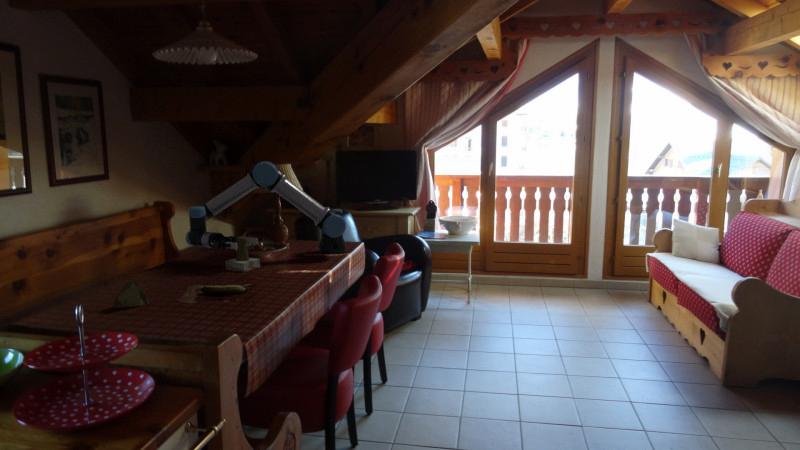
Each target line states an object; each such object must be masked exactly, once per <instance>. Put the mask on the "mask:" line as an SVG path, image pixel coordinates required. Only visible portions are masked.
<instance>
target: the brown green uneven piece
mask: <svg viewBox="0 0 800 450" xmlns="http://www.w3.org/2000/svg"><path fill="white" fill-rule="evenodd" d="M251 285H252V284H250V283H248V284H243V285H238V284H228V285H218V284H217V285H203V284H199V285H198V284H197V285H196V284H195V285H190V286H188V287H187V288H186V291H185V292H184V294H183V295H181V296H180V297H176V298H175V300H176V302H178V303H186V304H196V303H198V301H196V300H195V299H196V298H197V297H198V295H199V297H204V296H228V295H236V294H241V293H243V292H246V291H249V286H251ZM197 289H200V290H199V291H196V290H197ZM200 294H201V295H200ZM249 299H251V297H248V298H245V300H249ZM235 300H236V301H241V300H243V298H240V299H235ZM231 301H233V299H232V300H231ZM231 301H230V300H226V299H225V300H223V301H222V303H229V302H230V303H231ZM213 302H214V301H207V302H206V303H207V304H208V303H213ZM216 302H218V303H219V300H215V303H216Z"/></svg>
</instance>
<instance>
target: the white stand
mask: <svg viewBox="0 0 800 450" xmlns="http://www.w3.org/2000/svg"><path fill="white" fill-rule="evenodd" d="M258 268H261V258H259V257H256V258H255V257H251V256H250V257H249V260H247V261H236V257H235V258H233V259H228V260H225V270H229V271H234V272H235V271H236V272H243V273H244V272H248V271H251V270H252V271H253V270H255V269H258Z"/></svg>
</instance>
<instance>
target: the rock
mask: <svg viewBox="0 0 800 450" xmlns="http://www.w3.org/2000/svg"><path fill="white" fill-rule="evenodd" d="M148 304H149V299H148V297H147V294H146V293H145V292H144V290H143V288H142V287H141V285H140V284H139V282H138V281H137V280H129V281H128V282H126V283H125V284H124V285H123V287H122V288H121V289H120V290H119V293H118V294H117V295H116V297H115V299H114V302H113V305H112V306H113V309H118V308H121V309H123V308H137V307H143V306H146V305H148Z"/></svg>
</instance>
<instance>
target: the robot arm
mask: <svg viewBox="0 0 800 450" xmlns="http://www.w3.org/2000/svg"><path fill="white" fill-rule="evenodd" d="M262 187H263V188H265V189H266V190H267V191H268V192H270V193H276V194H278V195H279V197H282V198H283V199H285V201H287V202H289V203H290V204H291V205H293V206H294V207H295V208H297V209H298V210H299V211H301V212H302V213H303V214H305V215H306V216H307V217H309V218H310V219H311V220H313V221H314V225H315V227H316V228H318V229H320V236H321V237H320V241H319V243H318V244H319V245H318V248H317V250H318V253H320V254H326V255H332V254H333V255H337V254H342V253H346V252H347V250H348V249H347V245H346V242H345V240H344V239H345V238H344V233H345V231H346V229H347V223H346V222H347V221H346V220H345V218H344V217H343V214H344V213H343V209H341V208H331V207H329V206H327V207H325V206H324V205H322V204H321V203H320V202H318V201H317V200H316V199H314V198H313V197H311V196H310V195H309V194H308V193H306V192H305V191H304V190H303V189H301V188H299V187H298V186H297V185H296V184H294V182H292V181H290V180H289V179H288V178H287V175H286V173H285V172H284V171H282V170H281V169H279V168H278V167H277V166H276V165H275V164H274V163H273V162H271V161H267V160H263V161H260V162H258V163H257V164H256V165H255V166H254V167H253V169H251V170H250V171H249V172H247V174H246V175H245V177H243V178H241V179H240V180H239V181H237V182H236V183H234V184H232V186H230V187H228V188H226V190H224V191H222V192H221V193H219V194H217V196H214V197H213V198H212V199H210V200H208V201H207V202H206V203H205V204H202V205H201V206H199V205H197V206H190V207H189V209H188V217H189V228H190V229H189V230H188V232H187V233H186V236H185V243H187V244H188V245H189V246H192V247H193V246H194V247H198V248H199V247H200V248H208V249H217V250H218V249H219V250H220V249H221V250H226V249H229V250H230V249H232V250H237V249H238V248H237V243H236V238H237V237H238V236H233V235H231V236H225V235H224V234H223V233H221V232H213V231H208V230H207V221H209V220H210V219H211V218H213V217H215V216H217V215H218V214H219V213H221V212H222V211H224V210H225V209H228V207H230V206H231V205H233V204H234V203H236V202H237V201H239V200H240V199H242V198H243V197H245V196H246V195H248V194H249V193H251V192H252V191H254V190H255V189H261V188H262ZM245 237H246V238H247V243H246V244H250V245H251V244H252V245H259V239H258V237H251V236H249V235H246V236H245Z"/></svg>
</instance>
